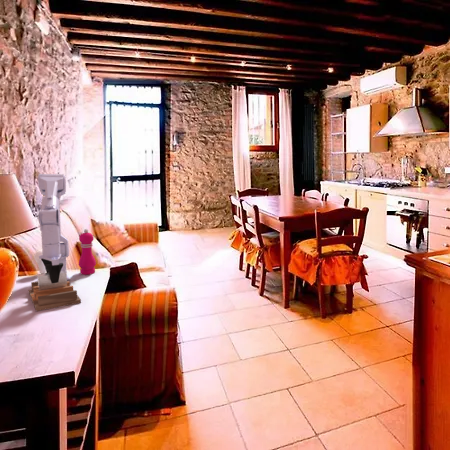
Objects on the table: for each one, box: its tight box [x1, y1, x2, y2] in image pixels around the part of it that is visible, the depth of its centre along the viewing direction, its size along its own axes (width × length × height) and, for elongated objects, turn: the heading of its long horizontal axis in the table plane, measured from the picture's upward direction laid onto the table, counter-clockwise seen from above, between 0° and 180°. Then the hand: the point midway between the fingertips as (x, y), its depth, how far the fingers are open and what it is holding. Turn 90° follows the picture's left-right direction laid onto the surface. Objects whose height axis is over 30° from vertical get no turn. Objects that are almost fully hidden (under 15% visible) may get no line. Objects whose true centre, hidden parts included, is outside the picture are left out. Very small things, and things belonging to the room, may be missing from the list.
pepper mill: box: [78, 228, 97, 276], centre depth 156 cm, size 7×7×20 cm
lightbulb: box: [33, 248, 46, 274], centre depth 153 cm, size 6×6×11 cm
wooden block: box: [37, 270, 68, 291], centre depth 126 cm, size 9×3×8 cm, turn 125°
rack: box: [28, 280, 82, 312], centre depth 127 cm, size 20×14×4 cm
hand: (53, 279), depth 126 cm, fingers open, 7 cm apart
